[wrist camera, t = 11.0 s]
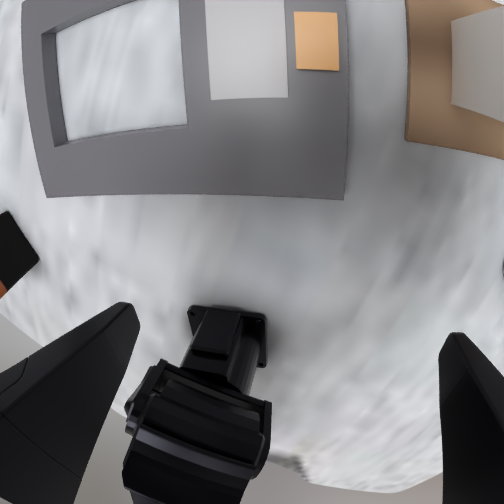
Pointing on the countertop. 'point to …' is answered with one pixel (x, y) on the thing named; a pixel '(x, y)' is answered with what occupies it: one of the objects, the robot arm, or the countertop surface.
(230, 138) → the grey square tray
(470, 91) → the plug
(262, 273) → the countertop surface
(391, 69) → the countertop surface
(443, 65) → the rest pad
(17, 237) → the battery
